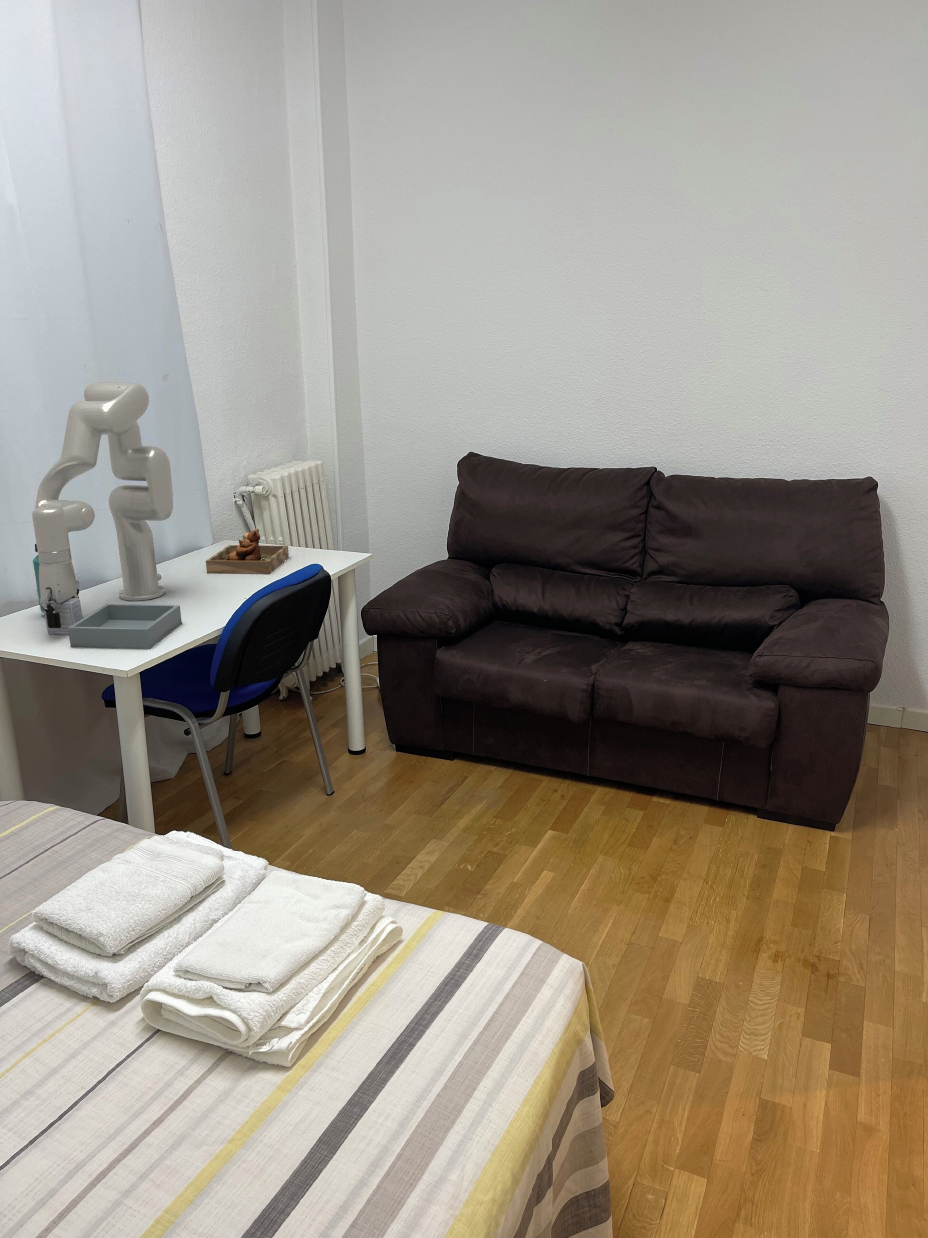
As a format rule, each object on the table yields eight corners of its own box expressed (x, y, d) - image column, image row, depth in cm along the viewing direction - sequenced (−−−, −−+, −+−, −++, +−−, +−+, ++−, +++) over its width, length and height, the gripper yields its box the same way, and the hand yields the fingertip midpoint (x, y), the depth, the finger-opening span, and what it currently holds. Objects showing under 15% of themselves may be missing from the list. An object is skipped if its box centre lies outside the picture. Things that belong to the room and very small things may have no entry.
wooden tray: (230, 556, 319) (229, 545, 318) (288, 557, 317) (288, 545, 316) (206, 573, 299) (205, 560, 298) (269, 574, 297) (268, 561, 296)
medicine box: (85, 630, 247) (80, 598, 245) (75, 636, 243) (70, 603, 240) (57, 629, 249) (52, 596, 246) (47, 634, 244) (42, 601, 242)
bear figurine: (230, 562, 314) (227, 525, 310) (275, 562, 312) (273, 525, 308) (216, 573, 301) (212, 534, 297) (263, 573, 299) (260, 535, 295)
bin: (108, 622, 253) (106, 603, 252) (181, 623, 251) (179, 605, 250) (70, 647, 235) (67, 627, 233) (149, 649, 232) (147, 629, 231)
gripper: (58, 547, 248) (67, 611, 253) (21, 564, 232) (32, 632, 237) (86, 548, 247) (94, 612, 253) (51, 565, 231) (61, 633, 236)
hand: (64, 621), depth 245 cm, fingers open, 9 cm apart
